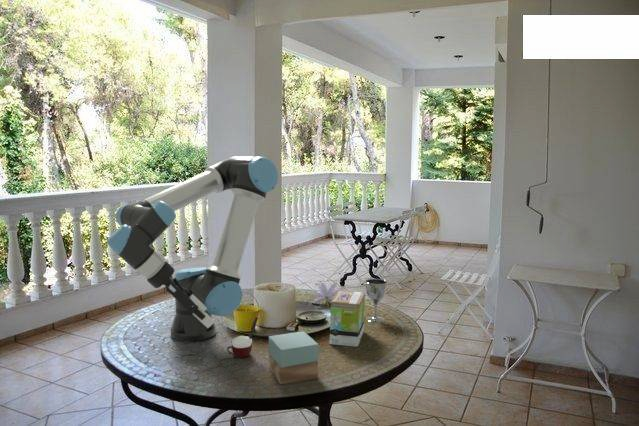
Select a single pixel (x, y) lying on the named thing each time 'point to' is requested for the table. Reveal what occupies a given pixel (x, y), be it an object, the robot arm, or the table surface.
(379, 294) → the wine glass
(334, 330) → the tea box
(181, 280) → the robot arm
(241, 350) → the cocoa
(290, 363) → the tower top
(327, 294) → the water lily
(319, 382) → the table surface
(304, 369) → the tower base
